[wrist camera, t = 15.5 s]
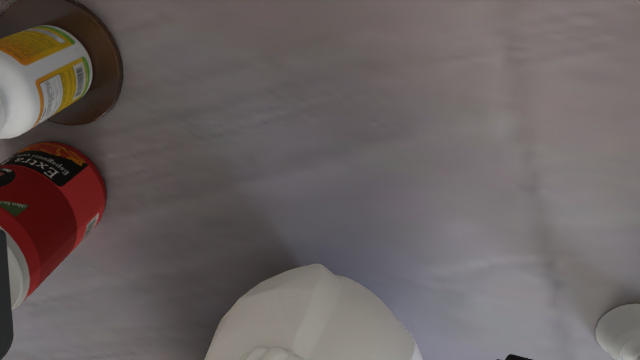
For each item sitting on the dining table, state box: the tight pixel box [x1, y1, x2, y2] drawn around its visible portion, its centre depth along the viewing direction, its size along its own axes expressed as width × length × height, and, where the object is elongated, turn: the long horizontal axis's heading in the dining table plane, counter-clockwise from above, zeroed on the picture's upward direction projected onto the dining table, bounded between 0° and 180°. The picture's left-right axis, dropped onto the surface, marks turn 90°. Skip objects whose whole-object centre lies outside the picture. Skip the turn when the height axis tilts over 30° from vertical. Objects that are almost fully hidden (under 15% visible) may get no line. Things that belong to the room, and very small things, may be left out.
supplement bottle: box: [0, 25, 92, 139], centre depth 35 cm, size 5×5×10 cm
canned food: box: [0, 142, 107, 310], centre depth 40 cm, size 8×8×11 cm
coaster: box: [0, 0, 123, 125], centre depth 40 cm, size 9×9×1 cm
